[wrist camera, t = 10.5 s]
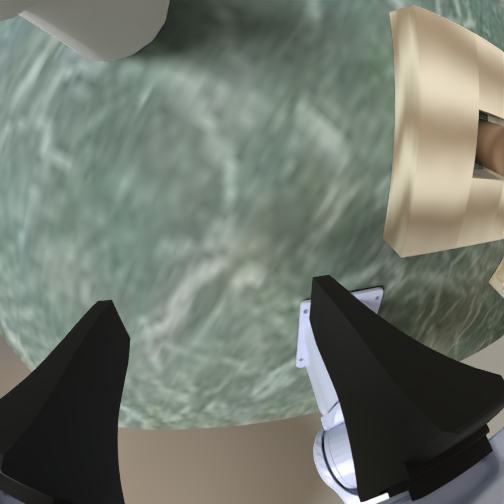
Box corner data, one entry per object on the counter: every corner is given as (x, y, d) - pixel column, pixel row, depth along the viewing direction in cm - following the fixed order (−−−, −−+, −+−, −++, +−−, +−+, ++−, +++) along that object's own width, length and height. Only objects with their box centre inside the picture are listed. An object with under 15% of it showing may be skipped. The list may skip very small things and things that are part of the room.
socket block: (498, 223, 22) (515, 236, 20) (382, 238, 21) (401, 257, 18) (515, 72, 13) (536, 77, 10) (389, 12, 12) (414, 4, 9)
